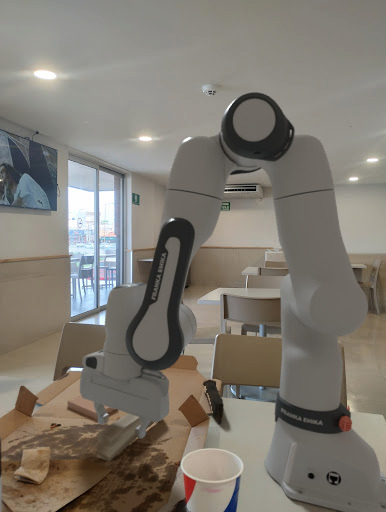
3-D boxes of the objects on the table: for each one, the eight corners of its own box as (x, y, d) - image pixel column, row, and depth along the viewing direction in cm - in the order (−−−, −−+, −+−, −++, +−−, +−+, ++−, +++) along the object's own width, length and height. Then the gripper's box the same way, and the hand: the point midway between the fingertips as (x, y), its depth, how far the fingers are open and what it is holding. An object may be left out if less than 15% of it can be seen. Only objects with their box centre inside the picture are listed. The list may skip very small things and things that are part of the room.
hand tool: (202, 392, 106) (203, 376, 106) (216, 392, 106) (217, 376, 106) (207, 425, 87) (208, 406, 87) (224, 426, 87) (225, 407, 87)
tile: (118, 402, 91) (89, 391, 97) (96, 413, 85) (67, 400, 91) (117, 410, 91) (89, 399, 97) (96, 421, 86) (67, 408, 91)
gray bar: (163, 420, 88) (164, 399, 88) (109, 463, 70) (110, 437, 70) (152, 417, 89) (153, 396, 89) (96, 457, 71) (98, 432, 71)
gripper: (177, 369, 73) (173, 438, 73) (97, 349, 82) (93, 410, 83) (160, 378, 67) (155, 453, 68) (76, 356, 77) (72, 421, 77)
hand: (121, 429), depth 75 cm, fingers open, 8 cm apart
